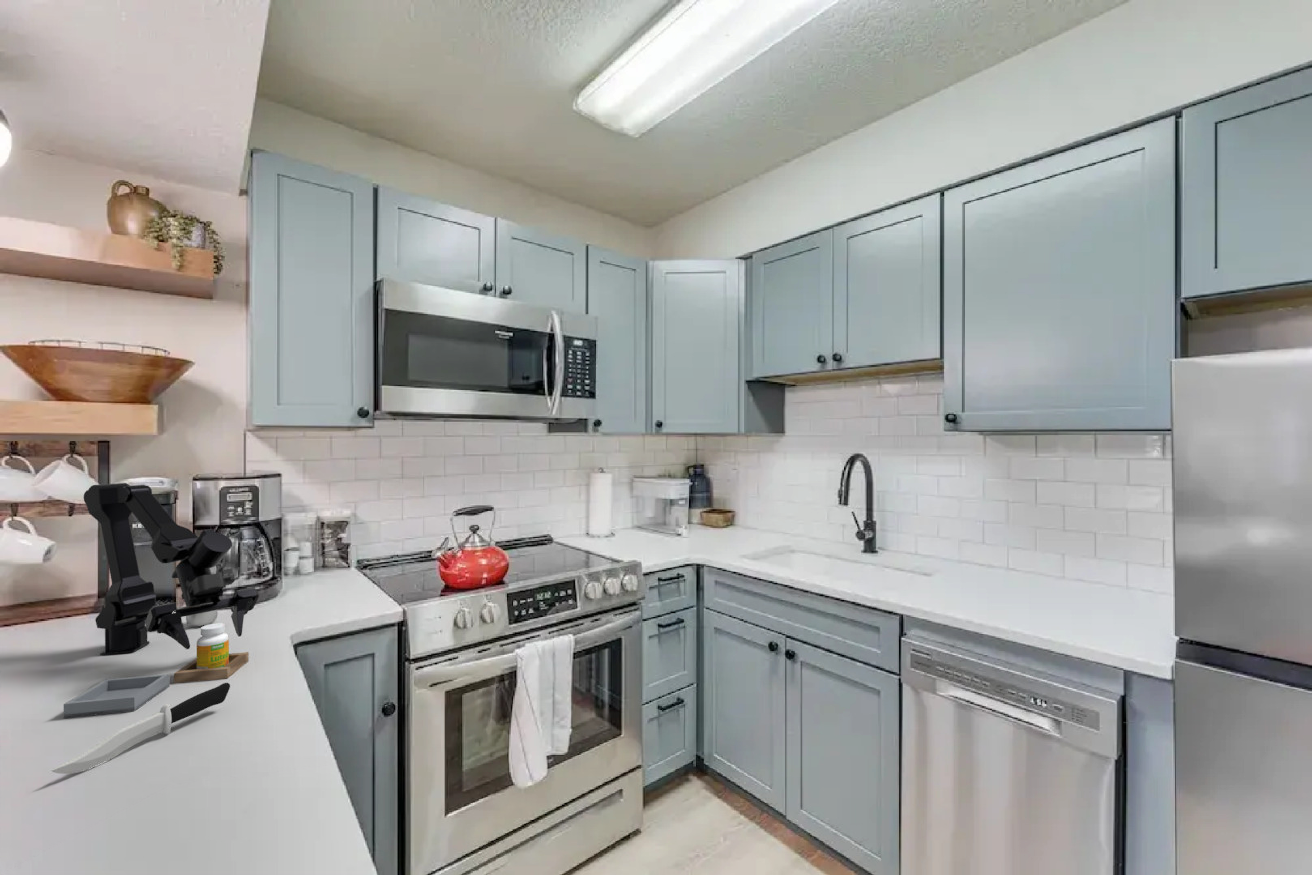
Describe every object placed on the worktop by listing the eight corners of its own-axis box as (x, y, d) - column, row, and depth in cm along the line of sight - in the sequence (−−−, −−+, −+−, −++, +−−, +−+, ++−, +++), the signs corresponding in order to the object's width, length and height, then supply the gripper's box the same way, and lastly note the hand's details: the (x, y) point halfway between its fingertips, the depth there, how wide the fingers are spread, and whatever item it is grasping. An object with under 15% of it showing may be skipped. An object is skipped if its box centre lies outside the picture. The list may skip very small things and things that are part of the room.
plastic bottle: (223, 622, 154) (223, 548, 154) (196, 630, 147) (195, 553, 147) (207, 620, 156) (206, 546, 156) (179, 627, 149) (178, 551, 149)
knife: (55, 788, 81) (55, 752, 81) (47, 785, 81) (47, 750, 81) (232, 707, 105) (232, 680, 105) (225, 706, 105) (225, 679, 105)
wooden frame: (174, 683, 115) (174, 673, 115) (199, 665, 124) (199, 656, 124) (227, 678, 117) (227, 668, 117) (248, 661, 127) (248, 652, 127)
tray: (63, 718, 101) (63, 703, 101) (106, 692, 111) (105, 679, 111) (134, 711, 103) (134, 697, 103) (169, 686, 114) (169, 673, 114)
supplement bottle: (211, 678, 118) (210, 630, 118) (190, 676, 119) (189, 629, 119) (235, 667, 123) (235, 622, 123) (214, 665, 124) (214, 621, 124)
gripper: (149, 567, 116) (166, 632, 109) (255, 551, 131) (276, 607, 124) (138, 599, 120) (154, 664, 114) (242, 581, 135) (261, 637, 129)
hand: (215, 641), depth 120 cm, fingers open, 9 cm apart
